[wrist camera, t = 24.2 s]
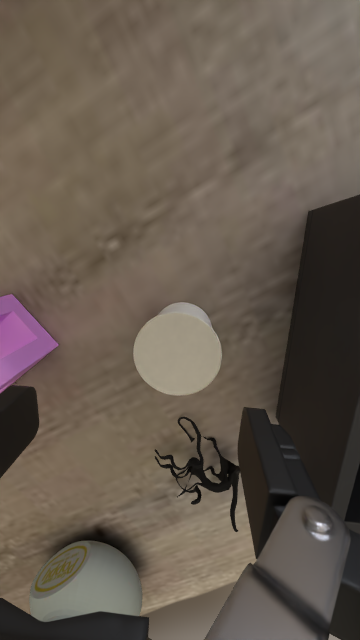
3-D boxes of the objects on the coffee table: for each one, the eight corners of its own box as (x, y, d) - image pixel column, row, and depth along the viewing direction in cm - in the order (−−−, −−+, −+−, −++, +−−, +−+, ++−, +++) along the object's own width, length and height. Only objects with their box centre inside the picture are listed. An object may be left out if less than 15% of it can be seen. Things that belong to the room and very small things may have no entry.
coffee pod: (143, 354, 23) (126, 385, 18) (155, 290, 21) (141, 303, 16) (208, 369, 23) (210, 404, 18) (225, 305, 21) (232, 324, 16)
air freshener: (83, 600, 31) (31, 755, 22) (37, 552, 30) (-40, 697, 20) (160, 569, 29) (140, 728, 20) (115, 517, 28) (69, 661, 18)
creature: (161, 473, 27) (241, 496, 25) (137, 524, 22) (235, 558, 20) (162, 405, 25) (250, 423, 23) (136, 443, 20) (245, 471, 18)
